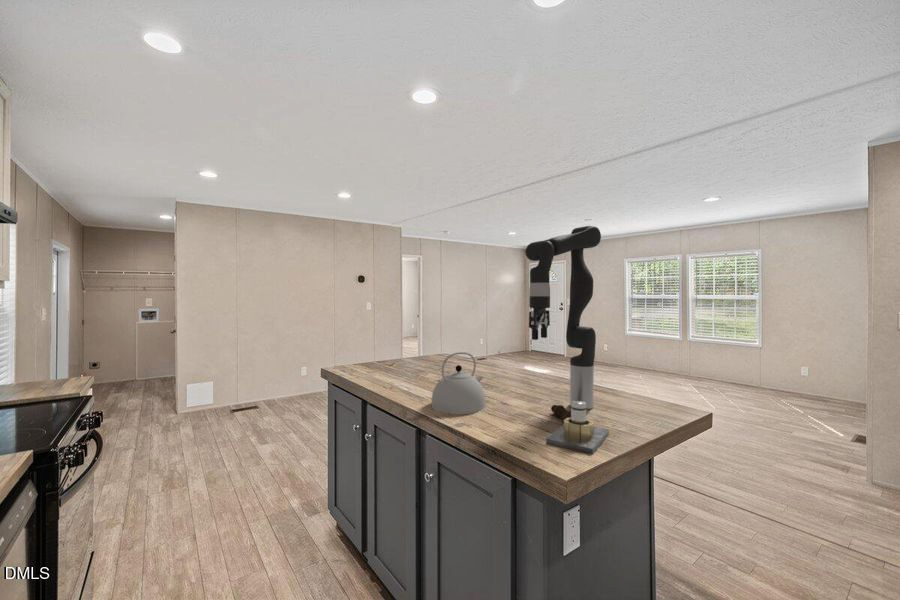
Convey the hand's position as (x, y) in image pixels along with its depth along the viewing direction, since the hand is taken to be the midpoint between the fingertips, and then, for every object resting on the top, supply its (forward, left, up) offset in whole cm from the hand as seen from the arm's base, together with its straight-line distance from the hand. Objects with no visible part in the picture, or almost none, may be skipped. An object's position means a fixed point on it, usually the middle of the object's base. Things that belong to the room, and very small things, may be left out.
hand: (539, 338), depth 144 cm
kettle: (+2, -34, -30) cm, 45 cm away
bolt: (-5, +7, -30) cm, 32 cm away
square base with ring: (+12, +18, -30) cm, 37 cm away
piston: (+12, +18, -28) cm, 36 cm away
